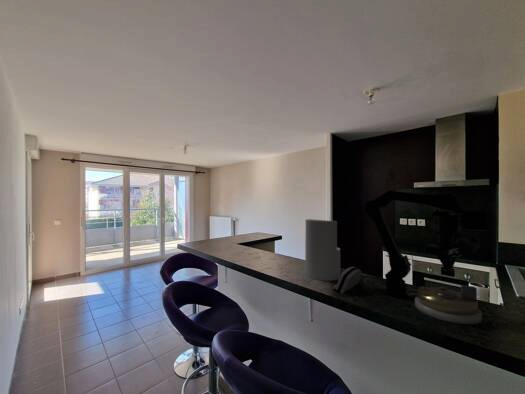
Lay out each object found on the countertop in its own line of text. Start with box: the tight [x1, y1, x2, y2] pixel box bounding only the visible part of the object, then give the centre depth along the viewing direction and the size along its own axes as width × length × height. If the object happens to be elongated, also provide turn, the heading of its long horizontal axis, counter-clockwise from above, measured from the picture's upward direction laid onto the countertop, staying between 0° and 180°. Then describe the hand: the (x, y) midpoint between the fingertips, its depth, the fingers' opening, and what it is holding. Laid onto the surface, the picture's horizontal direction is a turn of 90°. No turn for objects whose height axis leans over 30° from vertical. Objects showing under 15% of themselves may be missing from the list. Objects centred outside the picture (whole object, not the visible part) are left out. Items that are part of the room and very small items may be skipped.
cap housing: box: [414, 295, 483, 325], centre depth 81 cm, size 18×18×2 cm
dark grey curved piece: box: [331, 266, 363, 294], centre depth 103 cm, size 17×5×10 cm, turn 138°
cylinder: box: [304, 218, 341, 282], centre depth 121 cm, size 17×17×28 cm
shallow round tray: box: [417, 284, 479, 315], centre depth 81 cm, size 16×16×7 cm
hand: (448, 272), depth 85 cm, fingers closed
